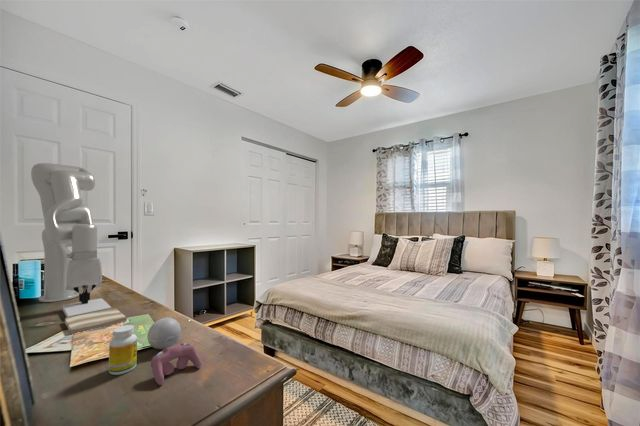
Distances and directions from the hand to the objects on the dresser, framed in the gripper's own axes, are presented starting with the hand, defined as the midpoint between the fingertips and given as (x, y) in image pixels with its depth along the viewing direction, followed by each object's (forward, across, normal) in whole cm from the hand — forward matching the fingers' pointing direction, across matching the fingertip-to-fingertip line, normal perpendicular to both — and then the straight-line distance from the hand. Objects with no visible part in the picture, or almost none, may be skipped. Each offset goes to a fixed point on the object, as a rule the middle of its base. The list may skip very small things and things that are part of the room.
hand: (84, 302), depth 107 cm
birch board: (+2, 0, -22) cm, 22 cm away
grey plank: (+2, 0, -5) cm, 6 cm away
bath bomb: (+4, +9, -58) cm, 59 cm away
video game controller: (+4, +6, -73) cm, 73 cm away
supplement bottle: (+4, -2, -62) cm, 62 cm away
